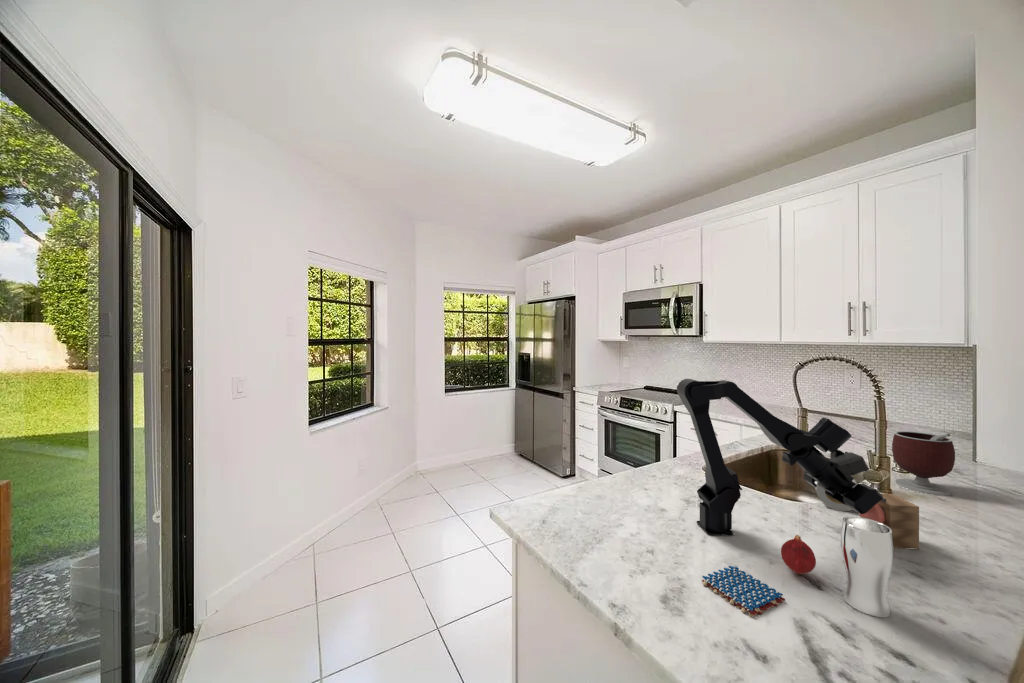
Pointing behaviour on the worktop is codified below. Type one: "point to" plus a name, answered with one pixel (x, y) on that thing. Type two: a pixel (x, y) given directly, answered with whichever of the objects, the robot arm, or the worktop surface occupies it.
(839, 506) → the toilet paper
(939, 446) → the mate gourd
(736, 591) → the woven mat
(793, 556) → the onion
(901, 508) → the catch block
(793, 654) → the worktop surface
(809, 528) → the worktop surface
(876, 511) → the knob
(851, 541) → the beer glass
